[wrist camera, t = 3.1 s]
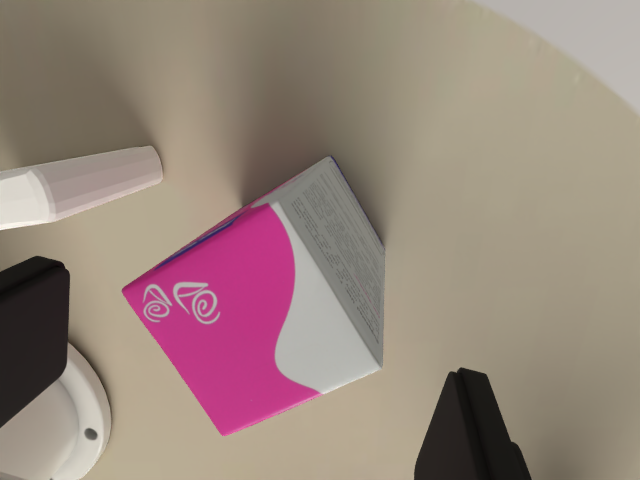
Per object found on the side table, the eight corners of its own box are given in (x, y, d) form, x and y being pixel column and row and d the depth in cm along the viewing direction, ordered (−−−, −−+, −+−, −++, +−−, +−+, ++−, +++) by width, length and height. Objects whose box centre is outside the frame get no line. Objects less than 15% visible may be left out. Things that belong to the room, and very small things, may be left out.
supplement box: (329, 149, 22) (282, 194, 11) (387, 249, 23) (394, 379, 12) (235, 205, 24) (111, 293, 13) (293, 297, 25) (226, 450, 14)
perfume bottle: (156, 143, 23) (-58, 182, 12) (167, 181, 24) (-30, 254, 12) (22, 167, 24) (-290, 223, 13) (34, 202, 25) (-255, 286, 14)
